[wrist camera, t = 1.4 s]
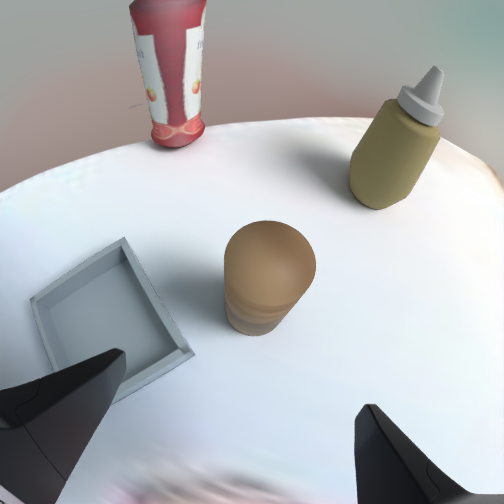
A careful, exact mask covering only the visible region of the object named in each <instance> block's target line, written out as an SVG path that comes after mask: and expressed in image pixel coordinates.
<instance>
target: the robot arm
mask: <svg viewBox="0 0 504 504" xmlns="http://www.w3.org/2000/svg"><path fill="white" fill-rule="evenodd" d="M126 369H127V364H126V353H125V351H123V350H121V349H118V348H112V349H110V350H108V351H105V352H103V353H100V354H98V355H96V356H93V357H91V358H89V359H86V360H84V361H81V362H79V363H77V364H74V365H72V366H69V367H67V368H64V369H62V370H59V371H57V372H54V373H52V374H49V375H47V376H44V377H42V378H41V379H40V378H39V379H36V380H34V381H31V382H28V383H26V384H23V385H19V386H16V387H12V388H8V389H4V390H0V504H55V503H56V501H57V499H58V497H59V495H60V493H61V491H62V489H63V488H64V486H65V484H66V481H67V480H68V478H69V476H70V474H71V472H72V471H73V469H74V467H75V465H76V463H77V462H78V460H79V458H80V456H81V455H82V453H83V451H84V449H85V448H86V446H87V444H88V442H89V441H90V439H91V437H92V435H93V434H94V432H95V430H96V429H97V427H98V425H99V424H100V422H101V420H102V418H103V417H104V415H105V413H106V412H107V410H108V408H109V407H110V405H111V403H112V401H113V399H114V397H115V395H116V392H117V390H118V388H119V386H120V383H121V381H122V379H123V377H124V375H125V372H126ZM354 456H355V468H356V482H357V500H358V504H504V494H474V493H471V492H468V491H467V490H465V489H464V488H462V487H461V486H460V485H459V484H457V483H456V482H455V481H454V480H452V479H451V478H450V477H449V476H447V475H446V474H445V473H444V472H443V471H441V470H440V469H439V468H438V467H437V466H436V465H435V464H434V463H433V462H432V461H431V460H430V459H428V457H427V456H426V455H425V454H424V453H423V452H422V451H421V450H420V449H419V448H418V447H417V446H416V445H415V444H414V443H413V442H412V441H411V440H410V439H409V438H408V437H407V436H406V435H405V434H404V433H403V432H402V431H401V430H400V429H399V428H398V427H397V426H396V425H395V423H394V422H393V421H392V420H391V419H390V418H389V417H388V416H387V415H386V414H385V413H384V412H383V411H382V410H381V409H380V408H379V407H378V406H377V405H376V404H365V405H364V406H363V408H362V409H361V411H360V412H359V413H358V415H357V416H356V418H355V442H354Z"/></svg>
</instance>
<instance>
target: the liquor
mask: <svg viewBox="0 0 504 504" xmlns="http://www.w3.org/2000/svg"><path fill="white" fill-rule="evenodd" d="M129 9H130V15H131V22H132V28H133V34H134V40H135V46H136V51H137V56H138V60H139V65H140V69H141V73H142V77H143V82H144V87H145V91H146V96H147V100H148V105H149V110H150V114H151V118H152V123H153V130H152V132H151V136H152V139H153V140H154V141H155V142H156V143H158V144H160V145H163V146H167V147H173V148H177V147H183V146H186V145H188V144H190V143H191V142H193V141H195V140H196V139H198V138H199V137H200V136H201V135H202V134H203V132H204V129H205V125H204V123H203V121H202V120H201V66H202V53H203V40H204V24H205V9H206V0H134V1H133V2H132V3H131V4H130V6H129Z"/></svg>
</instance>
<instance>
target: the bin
mask: <svg viewBox="0 0 504 504" xmlns="http://www.w3.org/2000/svg"><path fill="white" fill-rule="evenodd" d="M30 302H31V305H32V309H33V313H34V316H35V319H36V323H37V326H38V329H39V332H40V335H41V338H42V341H43V344H44V347H45V349H46V352H47V355H48V357H49V360H50V362H51V365H52V367H53V370H54V372H57V371H59V370H62V369H64V368H67V367H69V366H72V365H74V364H77V363H79V362H81V361H84V360H86V359H89V358H91V357H93V356H96V355H98V354H100V353H103V352H105V351H108V350H110V349H112V348H118V349H121V350H123V351H125V353H126V364H127V369H126V372H125V375H124V377H123V379H122V381H121V383H120V386H119V388H118V390H117V392H116V395H115V397H114V399H113V401H112V403H111V405H112V404H114V403H116V402H118V401H120V400H121V399H123V398H125V397H127V396H128V395H130V394H132V393H134V392H135V391H137V390H139V389H140V388H142V387H144V386H146V385H147V384H149V383H151V382H152V381H154V380H156V379H157V378H159V377H161V376H162V375H164V374H166V373H167V372H169V371H171V370H172V369H174V368H175V367H177V366H179V365H180V364H182V363H183V362H185V361H187V360H188V359H190V358H191V357H193V356H195V354H194V352H193V351H192V349H191V348H190V346H189V345H188V343H187V342H186V340H185V339H184V337H183V336H182V334H181V333H180V331H179V329H178V328H177V326H176V325H175V323H174V322H173V320H172V318H171V317H170V315H169V313H168V312H167V310H166V309H165V307H164V305H163V304H162V302H161V300H160V299H159V297H158V295H157V293H156V292H155V290H154V288H153V287H152V285H151V283H150V281H149V279H148V278H147V276H146V274H145V272H144V270H143V269H142V267H141V265H140V263H139V261H138V259H137V257H136V256H135V254H134V252H133V250H132V249H131V247H130V245H129V244H128V242H127V240H126V239H125V237H123V238H121V239H120V240H118V241H116V242H115V243H113V244H111V245H110V246H108V247H106V248H105V249H103V250H102V251H100V252H98V253H97V254H95V255H94V256H92V257H91V258H89V259H88V260H86V261H84V262H83V263H81V264H80V265H78V266H77V267H75V268H74V269H72V270H71V271H69V272H68V273H66V274H65V275H63V276H62V277H60V278H59V279H58V280H56V281H55V282H53V283H52V284H50V285H49V286H48V287H46V288H45V289H43V290H42V291H41V292H39V293H38V294H37V295H35V296H34V297H32V298H31V299H30ZM111 405H110V406H111Z"/></svg>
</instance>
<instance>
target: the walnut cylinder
mask: <svg viewBox="0 0 504 504" xmlns="http://www.w3.org/2000/svg"><path fill="white" fill-rule="evenodd" d="M315 271H316V260H315V255H314V252H313V249H312V247H311V245H310V244H309V242H308V241H307V239H306V238H305V237H304V236H303V235H302V234H301V233H300V232H299V231H297V230H296V229H294V228H293V227H291V226H289V225H287V224H284V223H281V222H277V221H258V222H253V223H251V224H248V225H246V226H244V227H242V228H241V229H239V230H238V231H237V232H236V233H235V234H234V235H233V236H232V238H231V239H230V241H229V242H228V245H227V247H226V250H225V255H224V284H225V313H226V317H227V319H228V321H229V323H230V324H231V325H232V326H233V327H234V328H235V329H236V330H237V331H239V332H240V333H242V334H245V335H249V336H260V335H264V334H267V333H269V332H270V331H272V330H273V329H274V328H275V327H276V326H277V325H278V324H279V323H280V322H281V320H282V319H283V318H284V317H285V316H286V315H287V313H288V312H289V311H290V310H291V309H292V307H293V306H294V305H295V304H296V303H297V301H298V300H299V299H300V298H301V297H302V295H303V294H304V293H305V292H306V290H307V289H308V288H309V286H310V285H311V283H312V281H313V279H314V276H315Z"/></svg>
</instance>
